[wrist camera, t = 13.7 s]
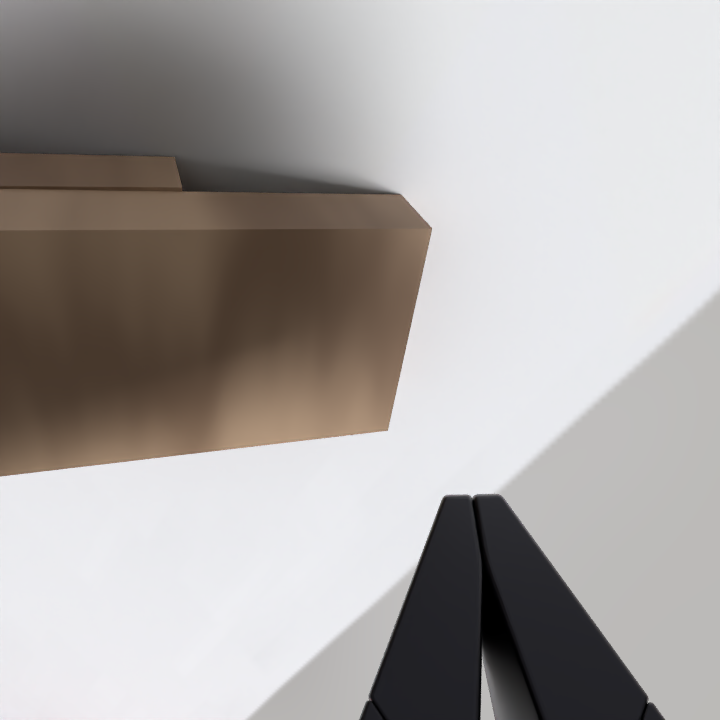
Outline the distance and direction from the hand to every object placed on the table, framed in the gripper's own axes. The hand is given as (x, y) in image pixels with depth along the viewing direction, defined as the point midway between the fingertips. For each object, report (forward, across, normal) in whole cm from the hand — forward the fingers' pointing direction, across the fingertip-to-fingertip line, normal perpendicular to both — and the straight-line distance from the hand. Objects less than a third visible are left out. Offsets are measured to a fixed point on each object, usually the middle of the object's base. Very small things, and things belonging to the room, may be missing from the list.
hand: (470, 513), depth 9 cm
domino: (+5, +1, 0) cm, 5 cm away
